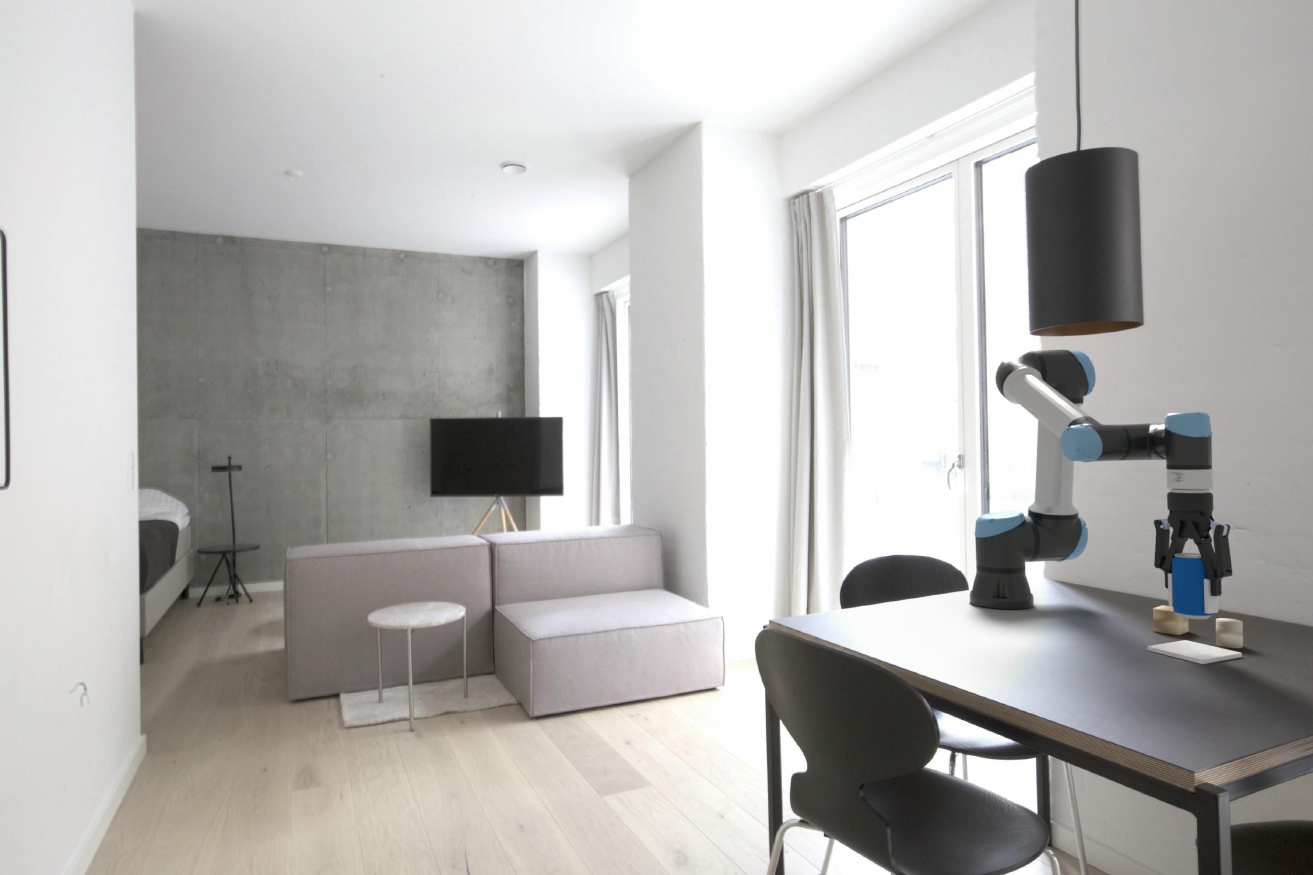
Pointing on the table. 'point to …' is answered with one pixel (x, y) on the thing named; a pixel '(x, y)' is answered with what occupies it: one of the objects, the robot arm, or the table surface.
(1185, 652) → the pad
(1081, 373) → the robot arm
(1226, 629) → the birch cylinder
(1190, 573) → the beverage can
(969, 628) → the table surface
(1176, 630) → the oak cube
